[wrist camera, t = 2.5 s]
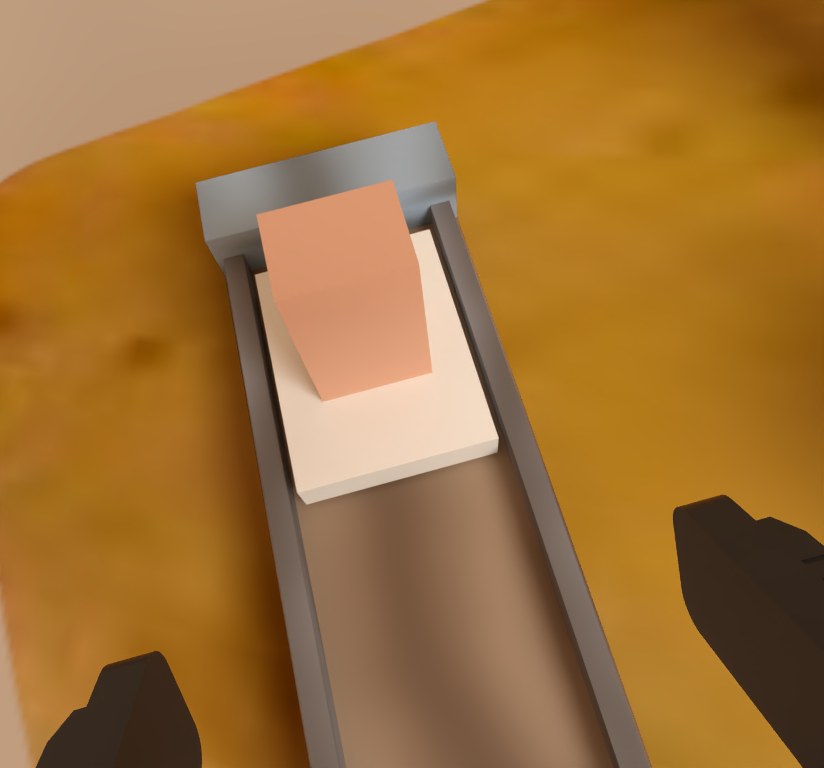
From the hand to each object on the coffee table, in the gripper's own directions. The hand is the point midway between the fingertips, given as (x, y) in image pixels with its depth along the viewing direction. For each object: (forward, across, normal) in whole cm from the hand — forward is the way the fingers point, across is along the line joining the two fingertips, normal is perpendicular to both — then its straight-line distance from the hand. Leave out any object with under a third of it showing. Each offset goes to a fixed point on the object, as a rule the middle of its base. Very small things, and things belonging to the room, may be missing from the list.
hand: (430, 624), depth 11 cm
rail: (+14, 0, +7) cm, 15 cm away
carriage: (+17, 0, +1) cm, 17 cm away
